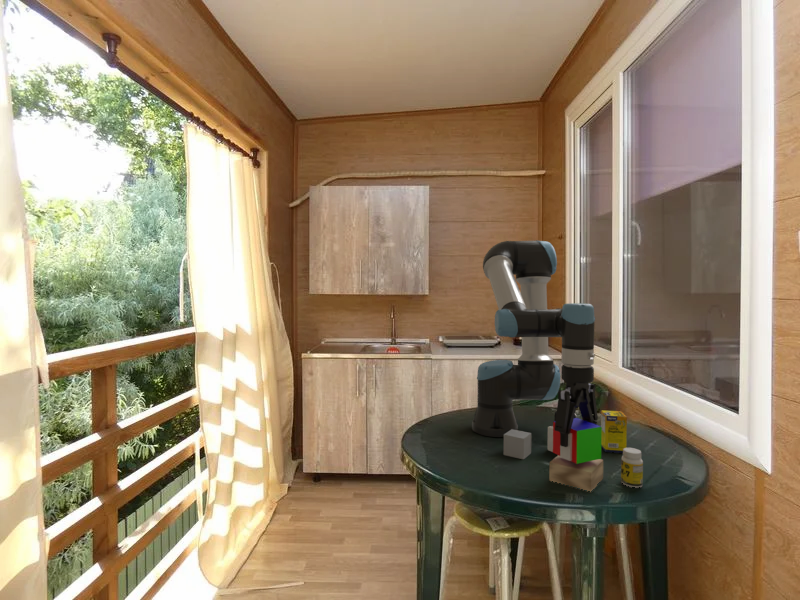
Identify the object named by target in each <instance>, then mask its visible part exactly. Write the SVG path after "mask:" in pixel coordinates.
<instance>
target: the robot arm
mask: <svg viewBox="0 0 800 600" xmlns="http://www.w3.org/2000/svg"><path fill="white" fill-rule="evenodd" d="M557 260H558V259H557V253H556V250H555V247H554V246H553V244H552V243H551V242H549V241H545V240H505V241H501V242H498V243H496V244H495V245H493V246H492V247H491V248H490V249H488V251H487V252H486V254H485V256H484V258H483V261H482V269H483V273H484V276H485V277H486V278H487V279H488V280H489V283H490V286H491V288H492V292H493V295H494V299H495V302H496V305H497V308H498V309H497V310H496V312H495V315H494V328H495V333H496V335H497V336H498V337H502V338H503V337H504V338H507V337H509V338H521V355H520V356H519V357H518V358H517V364H514V363H513V361H512V360H508V359H494V360H489V361H485V362H482V363H481V364H479V365H478V368H477V376H476V379H477V398H476V399H477V403H476V405H477V406H476V410H475V413H474V415H473V416H474V417H473V419H472V422H471V430H472V431H473V432H474V433H476V434H478V435H480V436H485V437H492V438H504V434H505V433H507V432H508V431H510V430H511V429H513V430H518V429H519V428H518V427H519V425H518V422H517V420H516V416H515V413H514V409H513V401H517V400H518V401H523V400H525V401H526V400H527V401H545V400H547V401H548V400H554V399H555V398H556V396H557V405H556V411H557V413H556V421H555V428H554V429H555V431H558V432H560V458H563V459H566V460H569V461H571V460H572V433H570V431H571V427H572V423H573V419H574V415H575V414H576V411H577V408H579V412H580V415H581V419H582V420H584V421H587V422H590V423H593V424H596V425H598V419H599V416H598V409H597V400H596V384H593V382H594V380H595V378H594V377H595V376H594V375H595V373H594V372H595V368H594V367H593V365H594V362H595V359H594V358H595V356H596V354H595V352H594V351H595V350H594V349H595V322H596V316H595V307H594V306H593V305H592V303H583V302H582V303H581V302H577V303H575V302H574V303H571V302H569V303H564V304H563V305H562V308H556V309H552V308H551V309H548V293H547V291H548V290H547V288H548V287H547V284H548V283H549V282H550V281H551V280H552V276H553V275H554V274H555V273H556V271H557V265H558V261H557ZM518 284H519V285H520V287H519V285H518ZM549 338H561V360H560V362H561V363H562V366H561V373H560V368H559V366H558V365H557V364H554V359H553V358H552V357H551V355H549ZM561 380H562V381H564V382H565V387H564V390H562V389H560V386H561ZM518 431H519V430H518Z"/></svg>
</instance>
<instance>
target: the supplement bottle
mask: <svg viewBox="0 0 800 600" xmlns="http://www.w3.org/2000/svg"><path fill="white" fill-rule="evenodd" d="M620 460H621V461H620V462H621V463H620V464H621V465H620V483H621V484H622V483H623V484H622V485H624V486H625V485H626V487H628V486H629V487H628V488H632V487H635V488H634V489H639V487H640V488H642V487H643V483H644V482H643V481H644V480H643V479H644V478H643V477H644V476H643V475H644V461H643V459H642V450H640V449H638V448H634V447H627V448H624V449H623V453H622V456H621V459H620Z"/></svg>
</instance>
